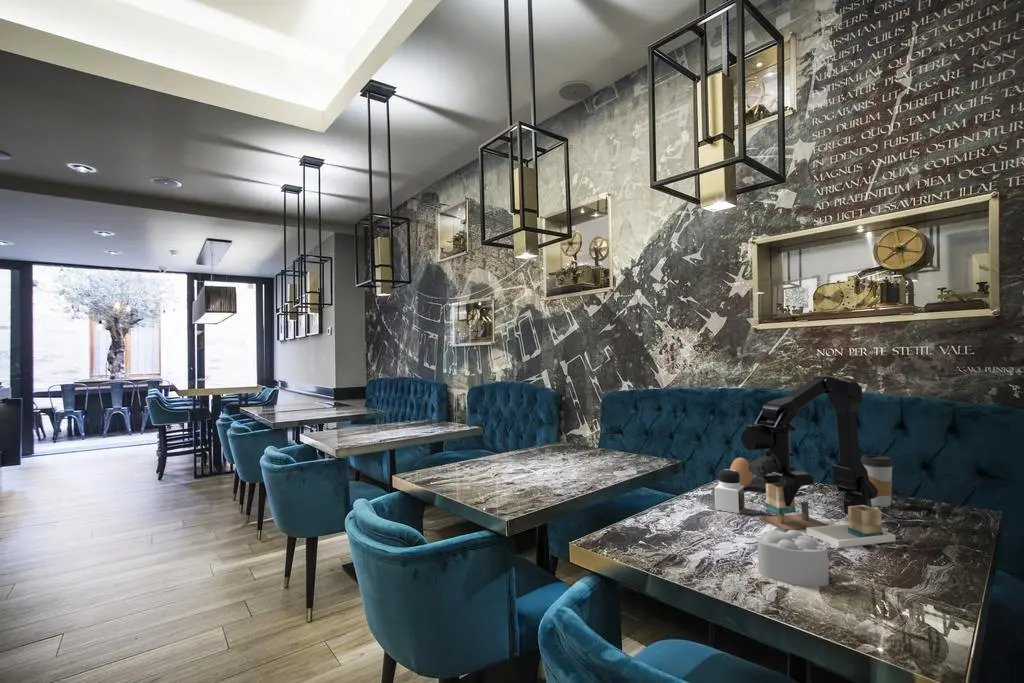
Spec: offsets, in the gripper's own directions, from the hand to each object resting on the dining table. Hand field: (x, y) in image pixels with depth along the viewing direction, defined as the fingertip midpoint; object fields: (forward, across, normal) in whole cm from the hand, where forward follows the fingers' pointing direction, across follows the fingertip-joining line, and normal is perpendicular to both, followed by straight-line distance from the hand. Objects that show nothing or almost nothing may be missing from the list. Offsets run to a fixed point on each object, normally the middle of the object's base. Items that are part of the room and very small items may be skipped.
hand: (780, 503), depth 138 cm
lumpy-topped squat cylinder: (+7, +27, -20) cm, 34 cm away
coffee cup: (+7, -9, +43) cm, 44 cm away
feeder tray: (+6, +13, +9) cm, 17 cm away
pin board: (+6, 0, +4) cm, 7 cm away
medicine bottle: (+6, -17, -4) cm, 19 cm away
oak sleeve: (+2, 0, 0) cm, 2 cm away
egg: (+7, -38, +15) cm, 41 cm away
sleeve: (+6, +13, +14) cm, 20 cm away
